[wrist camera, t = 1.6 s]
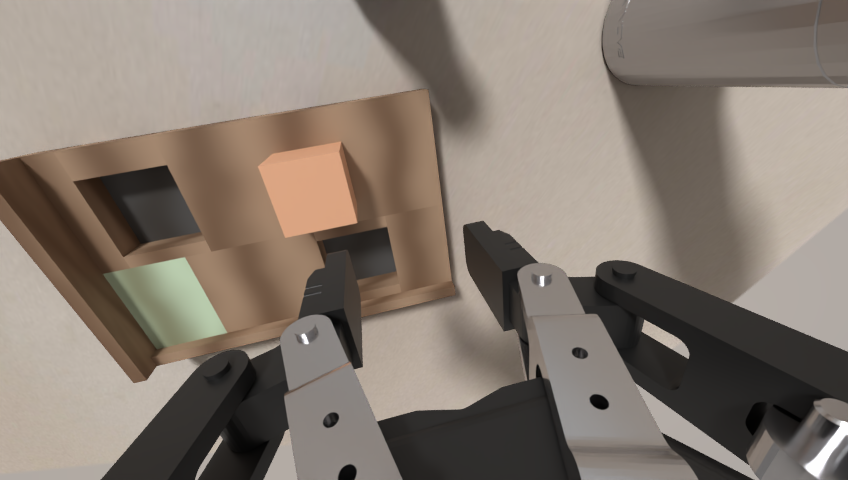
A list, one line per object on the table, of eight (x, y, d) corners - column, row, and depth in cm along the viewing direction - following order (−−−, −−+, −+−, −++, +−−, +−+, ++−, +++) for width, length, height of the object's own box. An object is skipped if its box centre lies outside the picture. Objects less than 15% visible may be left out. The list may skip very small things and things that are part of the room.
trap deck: (421, 88, 26) (435, 90, 21) (446, 275, 34) (460, 304, 30) (35, 152, 23) (-41, 169, 18) (165, 340, 31) (133, 383, 27)
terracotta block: (341, 141, 24) (338, 151, 20) (357, 204, 26) (357, 223, 23) (272, 153, 23) (257, 166, 20) (294, 216, 26) (285, 237, 22)
